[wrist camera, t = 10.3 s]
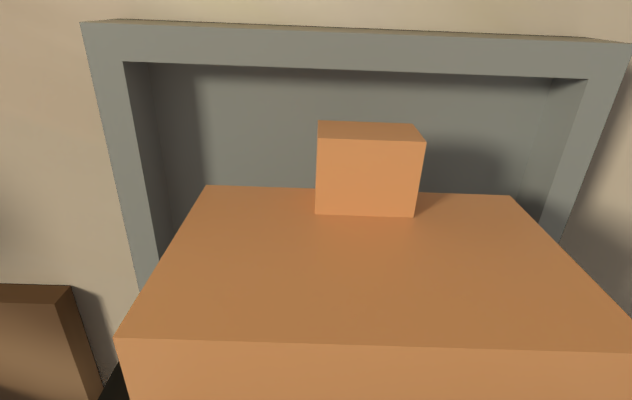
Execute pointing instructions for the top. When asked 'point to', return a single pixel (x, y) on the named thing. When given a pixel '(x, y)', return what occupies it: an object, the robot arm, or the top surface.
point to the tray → (341, 111)
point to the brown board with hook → (44, 346)
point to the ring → (370, 293)
